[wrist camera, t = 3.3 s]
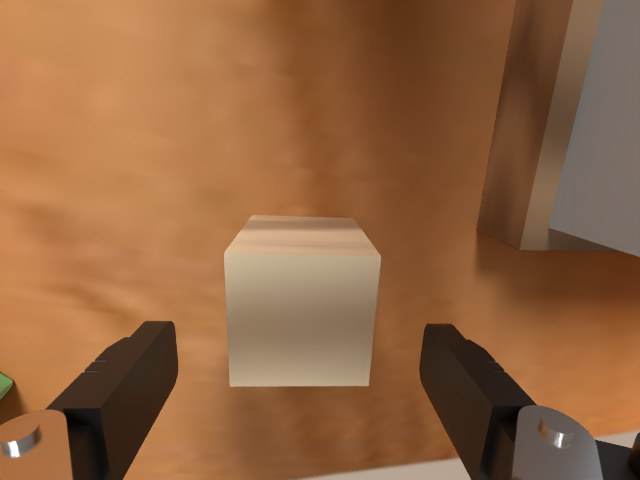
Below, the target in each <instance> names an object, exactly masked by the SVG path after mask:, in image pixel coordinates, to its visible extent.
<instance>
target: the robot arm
mask: <svg viewBox="0 0 640 480" xmlns="http://www.w3.org/2000/svg"><path fill="white" fill-rule="evenodd" d="M419 370H420V378H421V382H422V385H423V387H424V389H425V391H426V393H427V395H428V397H429V399H430V401H431V403H432V405H433V407H434V409H435V411H436V412H437V414H438V416H439V418H440V420H441V422H442V424H443V426H444V428H445V430H446V432H447V434H448V436H449V438H450V439H451V441H452V443H453V445H454V447H455V449H456V451H457V453H458V455H459V457H460V459H461V461H462V462H463V464H464V466H465V468H466V470H467V472H468V474H469V476H470V478H471V480H640V433H638V434H637V436H636V439H635V442H634V445H633V447H632V448H628V447H624V446H619V445H615V444H611V443H607V442H602V441H598V440H594V439H593V437H592V436H591V434H590V433H589V432H588V431H587V430H586V429H585V428H584V427H583V426H582V425H580V424H579V423H578V422H576V421H575V420H574V419H572V418H570V417H569V416H567V415H565V414H563V413H561V412H559V411H556V410H554V409H551V408H548V407H544V406H537V405H536V404H535V402H534V401H533V400H532V399H531V398H530V397H529V396H528V395H527V394H526V393H525V392H524V391H523V390H522V389H521V387H520V386H519V385H518V384H517V383H516V382H515V381H514V380H513V379H512V378H511V377H510V376H509V375H508V374H507V373H505V372H504V369H503V368H502V367H501V366H500V365H499V364H498V363H496V362H495V360H494V359H493V358H492V356H491V355H490V354H489V353H488V352H487V351H486V350H485V349H484V348H482V347H480V346H479V345H477V344H476V343H474V342H472V341H471V340H466V339H465V338H464V337H463V336H462V335H461V333H460V332H459V331H458V330H457V329H456V328H455V327H454V326H453V325H452V324H427V325H426V327H425V330H424V337H423V344H422V351H421V359H420V368H419ZM177 375H178V356H177V345H176V333H175V326H174V323H173V322H172V321H145V322H144V323H143V324H142V325H141V326H140V327H139V328H138V329H137V330H136V331H135V332H134V333H133V334H132V336H131V337H125V338H123V339H121V340H120V341H118V342H116V343H114V344H113V345H111V346H109V347H108V348H107V349H105V350H104V351H103V352H102V353H101V354H100V355H99V356H98V357H97V358H96V359H95V362H92V363H91V364H90V365H89V366H88V367H87V368H86V369H85V372H84V373H81V374H80V375H79V376H78V377H77V378H76V379H75V380H74V381H73V382H72V383H71V384H70V385H69V386H68V387H67V388H66V389H65V390H64V391H63V392H62V393H61V394H60V395H59V396H58V397H57V398H56V399H55V400H54V401H53V402H52V403H51V404H50V405H49V406H48V407H47V408H46V409H45V410H40V411H34V412H30V413H27V414H24V415H21V416H19V417H16V418H14V419H12V420H10V421H7V422H6V423H4V424H2V425H0V480H123V478H124V476H125V474H126V473H127V471H128V469H129V467H130V465H131V464H132V462H133V460H134V458H135V456H136V454H137V453H138V451H139V449H140V447H141V445H142V444H143V442H144V440H145V438H146V436H147V435H148V433H149V431H150V429H151V427H152V425H153V424H154V422H155V420H156V418H157V416H158V415H159V413H160V411H161V409H162V407H163V406H164V404H165V402H166V400H167V398H168V396H169V395H170V393H171V391H172V389H173V387H174V385H175V383H176V379H177Z"/></svg>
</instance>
